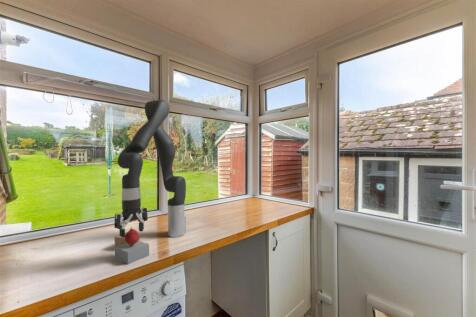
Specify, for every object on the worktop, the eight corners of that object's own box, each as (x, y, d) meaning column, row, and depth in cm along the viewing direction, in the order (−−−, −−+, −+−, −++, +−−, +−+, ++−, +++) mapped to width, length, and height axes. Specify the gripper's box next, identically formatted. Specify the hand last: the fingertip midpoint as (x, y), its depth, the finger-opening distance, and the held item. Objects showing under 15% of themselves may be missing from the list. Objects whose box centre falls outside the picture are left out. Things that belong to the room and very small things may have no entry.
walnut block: (126, 243, 114) (126, 232, 114) (137, 245, 112) (137, 233, 112) (114, 249, 108) (114, 236, 108) (126, 250, 106) (126, 238, 106)
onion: (141, 243, 102) (141, 225, 102) (135, 248, 96) (136, 229, 96) (128, 243, 101) (128, 225, 102) (122, 248, 96) (122, 229, 96)
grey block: (135, 250, 106) (135, 239, 106) (149, 255, 100) (149, 244, 100) (114, 258, 97) (114, 247, 97) (128, 264, 92) (127, 252, 92)
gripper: (140, 194, 107) (141, 228, 107) (110, 199, 95) (111, 237, 95) (150, 195, 103) (151, 230, 103) (120, 201, 91) (121, 241, 91)
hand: (132, 234), depth 99 cm, fingers open, 8 cm apart
